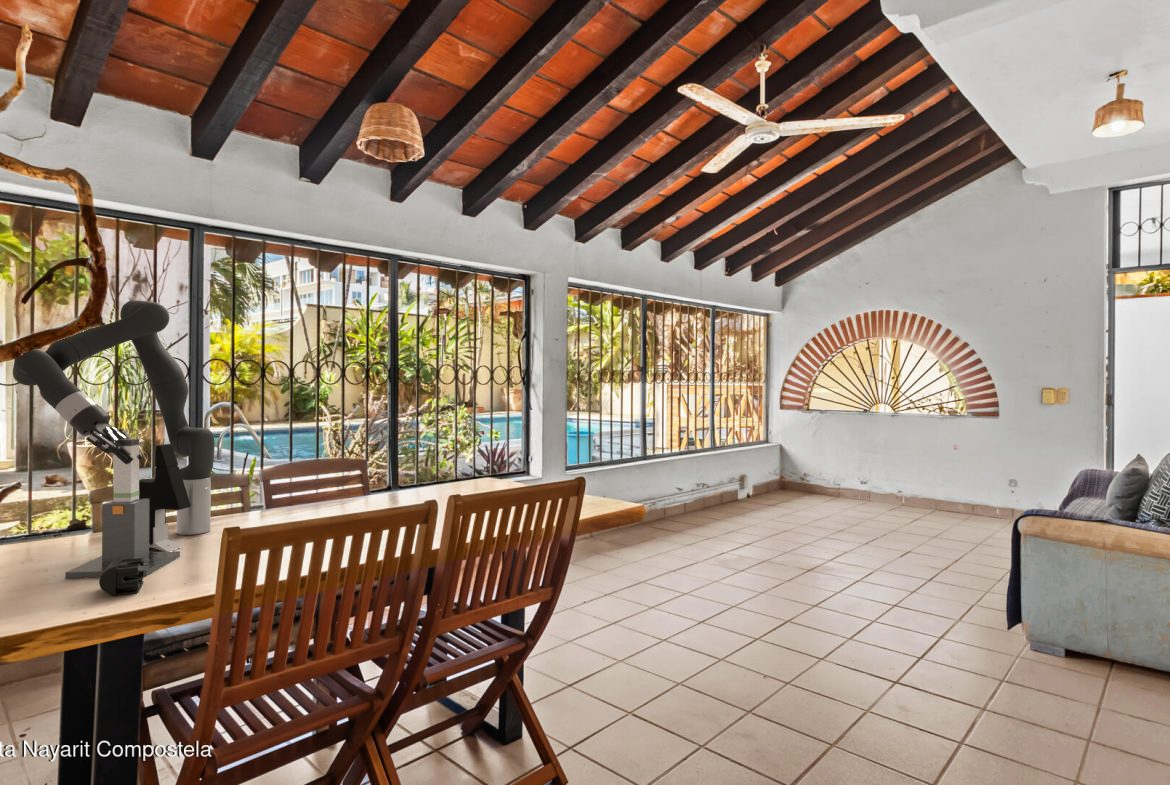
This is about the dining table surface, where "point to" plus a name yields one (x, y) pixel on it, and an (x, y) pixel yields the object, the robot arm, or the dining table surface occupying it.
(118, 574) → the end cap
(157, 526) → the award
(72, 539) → the dining table surface
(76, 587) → the dining table surface
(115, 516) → the stand
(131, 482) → the column
